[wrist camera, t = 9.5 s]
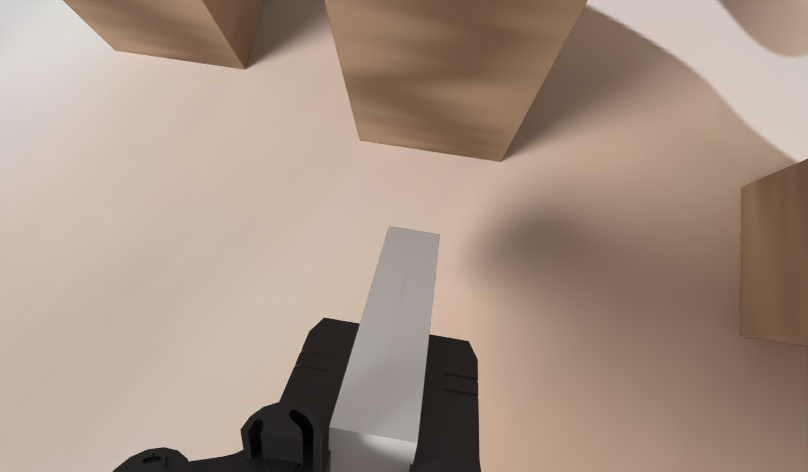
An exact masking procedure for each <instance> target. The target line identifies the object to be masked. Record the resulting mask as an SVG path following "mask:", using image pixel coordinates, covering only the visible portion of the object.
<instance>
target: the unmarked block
mask: <svg viewBox="0 0 808 472" xmlns="http://www.w3.org/2000/svg"><path fill="white" fill-rule="evenodd" d="M324 2H325V6H326V10H327V14H328V18H329V22H330V25H331V29H332V33H333V37H334V41H335V45H336V49H337V53H338V57H339V61H340V65H341V69H342V73H343V76H344V80H345V84H346V88H347V92H348V96H349V100H350V104H351V108H352V112H353V116H354V120H355V123H356V127H357V131H358V135H359V139H360V141H367V142H374V143H380V144H387V145H393V146H400V147H406V148H413V149H419V150H426V151H433V152H439V153H446V154H452V155H459V156H465V157H472V158H478V159H485V160H492V161H498V162H501V160H502V159H503V157H504V155H505V153H506V151H507V149H508V147H509V145H510V144H511V142H512V140H513V138H514V136H515V134H516V132H517V131H518V129H519V127H520V125H521V123H522V121H523V119H524V118H525V116H526V114H527V112H528V110H529V108H530V106H531V105H532V103H533V101H534V99H535V97H536V95H537V93H538V92H539V90H540V88H541V86H542V84H543V82H544V80H545V79H546V77H547V75H548V73H549V71H550V69H551V67H552V66H553V64H554V62H555V60H556V58H557V56H558V54H559V52H560V51H561V49H562V47H563V45H564V43H565V41H566V39H567V38H568V36H569V34H570V32H571V30H572V28H573V26H574V25H575V23H576V21H577V19H578V17H579V15H580V13H581V12H582V10H583V8H584V6H585V4H586V2H587V0H324Z"/></svg>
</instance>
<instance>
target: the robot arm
mask: <svg viewBox="0 0 808 472" xmlns="http://www.w3.org/2000/svg"><path fill="white" fill-rule="evenodd" d="M439 238H440V234H434V233H428V232H422V231H416V230H410V229H404V228H397V227H391V226H389V228H388V232H387V235H386V238H385V242H384V245H383V248H382V252H381V255H380V258H379V262H378V265H377V269H376V272H375V275H374V279H373V282H372V285H371V289H370V292H369V295H368V299H367V302H366V305H365V309H364V312H363V315H362V319H361V322H360V324H358V323H352V322H347V321H341V320H335V319H329V318H323V319H322V320H321V321H320V322H319V323H318V324H317V325H316V326H315V327H314V328H313V329H311V330H310V331H309V334H308V336H307V338H306V341H305V343H304V345H303V348H302V351H301V353H300V355H299V357H298V359H297V362H296V365H295V367H294V369H293V371H292V373H291V376H290V378H289V380H288V383H287V385H286V387H285V390H284V392H283V394H282V397H281V399H280V401H279V402H278V403H275V404H272V405H268V406H265V407H263V408H261V409H260V410H259V411H257V412H256V413H254V414H253V415H252V416H250V417H249V419H248V420H247V422H246V423H245V424H244V426H243V427H242V428H241V436H242V442H243V449H244V450H242V451H240V452H238V453H235V454H232V455H228V456H224V457H217V458H210V459H203V460H196V461H189V462H188V459H187V458H186V457H185V456H184V455H182V454H181V453H180V452H179V451H177V450H173V449H169V448H165V447H163V448H155V449H148V450H145V451H143V452H141V453H139V454H136V455H134V456H132V457H130V458H129V459H127V460H126V461H125V462H124V463H122V464H121V465H120V466H119V467H117V468H116V469H115V470H114V471H113V472H481V468H480V461H479V413H478V382H477V381H478V359H477V357H476V355H475V353H474V351H473V349H472V347H471V345H470V343H469V341H464V340H459V339H453V338H447V337H441V336H435V335H429V331H430V322H431V313H432V304H433V294H434V285H435V276H436V266H437V257H438V248H439Z"/></svg>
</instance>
